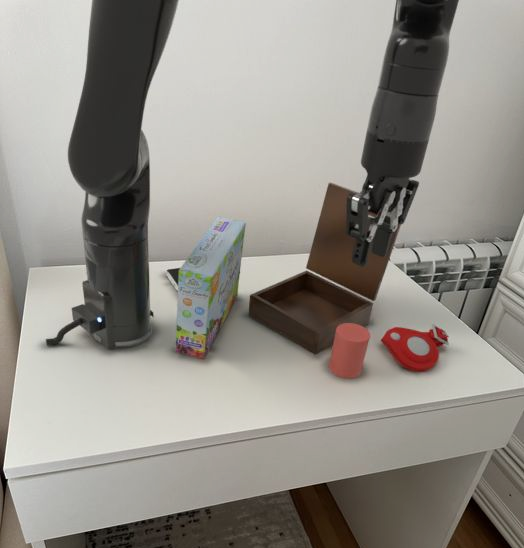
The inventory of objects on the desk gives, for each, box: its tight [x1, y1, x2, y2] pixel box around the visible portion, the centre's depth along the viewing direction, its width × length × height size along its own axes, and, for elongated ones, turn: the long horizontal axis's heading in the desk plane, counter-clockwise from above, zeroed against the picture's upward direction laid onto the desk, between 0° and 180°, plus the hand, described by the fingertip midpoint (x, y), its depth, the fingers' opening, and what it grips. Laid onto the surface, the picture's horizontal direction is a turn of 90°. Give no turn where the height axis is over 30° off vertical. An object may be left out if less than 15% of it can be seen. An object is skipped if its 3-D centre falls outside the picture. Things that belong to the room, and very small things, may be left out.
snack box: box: [174, 216, 247, 360], centre depth 88 cm, size 21×6×15 cm, turn 168°
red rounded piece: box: [380, 324, 450, 373], centre depth 90 cm, size 12×4×10 cm
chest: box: [248, 269, 374, 356], centre depth 95 cm, size 16×16×4 cm
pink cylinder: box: [328, 323, 371, 379], centre depth 83 cm, size 5×5×7 cm
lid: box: [305, 182, 402, 302], centre depth 97 cm, size 16×16×5 cm
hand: (369, 258), depth 74 cm, fingers open, 4 cm apart
